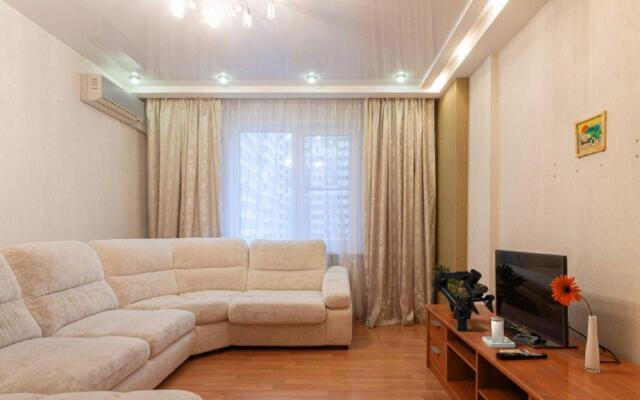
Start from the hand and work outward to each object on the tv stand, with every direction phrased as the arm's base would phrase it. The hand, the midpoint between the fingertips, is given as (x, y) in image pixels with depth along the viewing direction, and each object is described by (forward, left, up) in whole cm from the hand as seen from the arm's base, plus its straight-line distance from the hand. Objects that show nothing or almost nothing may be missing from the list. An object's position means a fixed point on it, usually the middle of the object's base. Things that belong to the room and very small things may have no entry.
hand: (485, 313), depth 205 cm
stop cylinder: (+8, +3, -13) cm, 15 cm away
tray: (+8, +3, -14) cm, 16 cm away
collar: (+3, +18, -14) cm, 23 cm away
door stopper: (-27, +22, -14) cm, 38 cm away
